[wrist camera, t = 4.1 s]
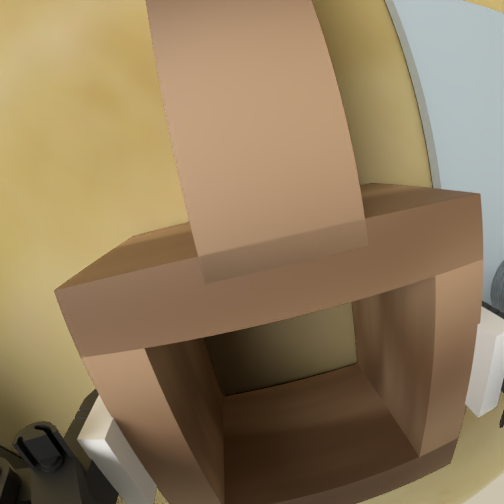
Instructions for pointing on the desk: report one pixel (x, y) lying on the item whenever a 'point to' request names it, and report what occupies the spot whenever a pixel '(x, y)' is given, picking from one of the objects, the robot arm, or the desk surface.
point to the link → (279, 279)
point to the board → (460, 103)
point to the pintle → (498, 288)
